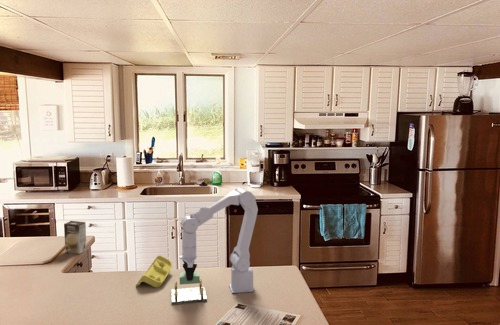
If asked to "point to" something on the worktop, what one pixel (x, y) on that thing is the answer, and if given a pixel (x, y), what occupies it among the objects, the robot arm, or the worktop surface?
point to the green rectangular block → (184, 281)
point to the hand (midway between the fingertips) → (189, 277)
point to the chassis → (188, 294)
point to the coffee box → (75, 237)
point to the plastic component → (157, 272)
